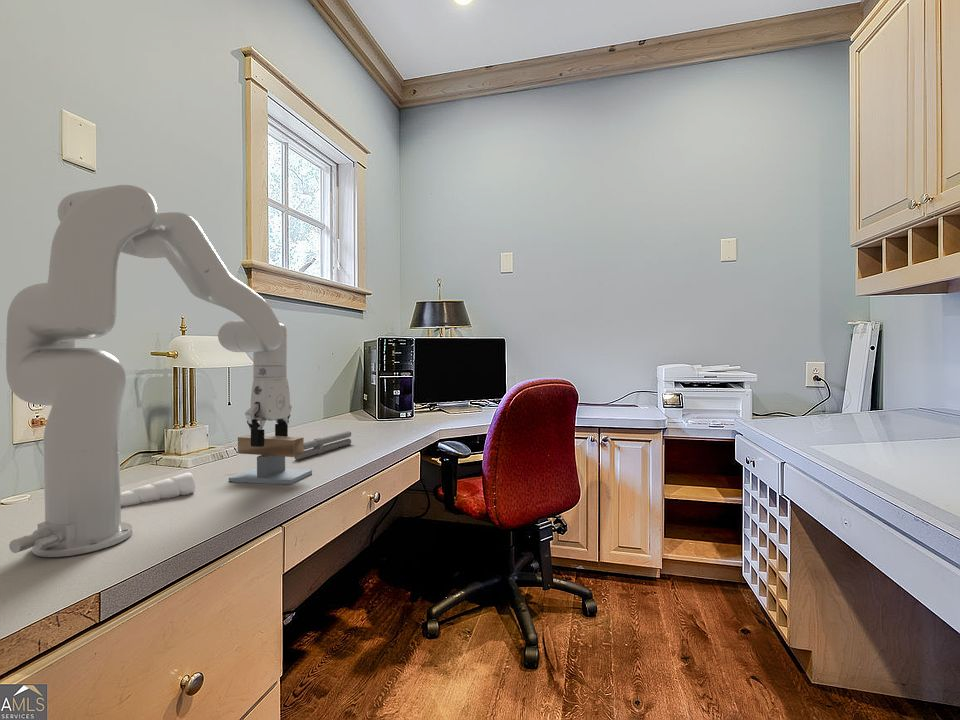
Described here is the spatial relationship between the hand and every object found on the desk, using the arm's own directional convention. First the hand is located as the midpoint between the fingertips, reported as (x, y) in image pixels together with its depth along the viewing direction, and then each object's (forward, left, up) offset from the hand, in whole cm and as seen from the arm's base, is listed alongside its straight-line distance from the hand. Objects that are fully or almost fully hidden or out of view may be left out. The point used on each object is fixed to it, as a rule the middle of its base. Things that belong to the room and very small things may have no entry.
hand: (269, 442), depth 118 cm
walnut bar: (0, 0, -3) cm, 3 cm away
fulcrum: (0, 0, -9) cm, 9 cm away
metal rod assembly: (+32, +2, -9) cm, 33 cm away
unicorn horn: (-22, +16, -9) cm, 29 cm away
